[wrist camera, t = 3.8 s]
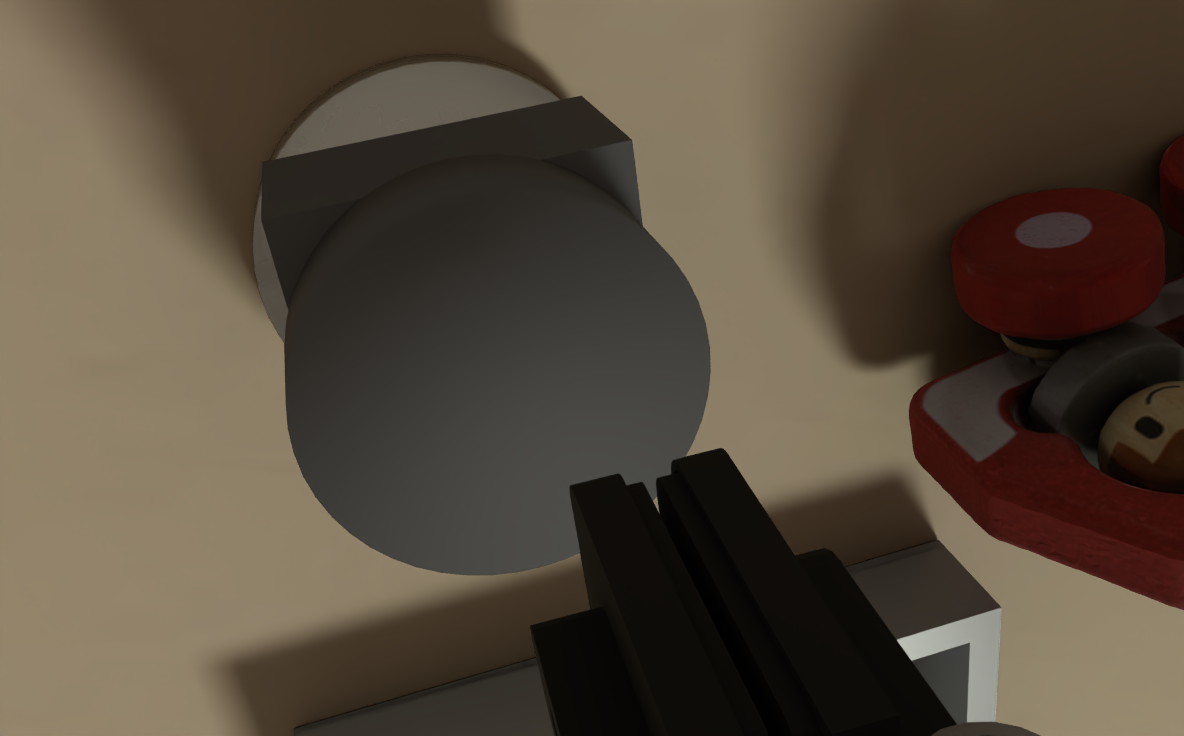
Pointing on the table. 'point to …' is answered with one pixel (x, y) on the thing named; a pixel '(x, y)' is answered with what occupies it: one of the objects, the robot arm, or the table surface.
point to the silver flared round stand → (391, 122)
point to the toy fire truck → (1070, 384)
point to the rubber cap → (479, 333)
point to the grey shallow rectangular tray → (891, 583)
